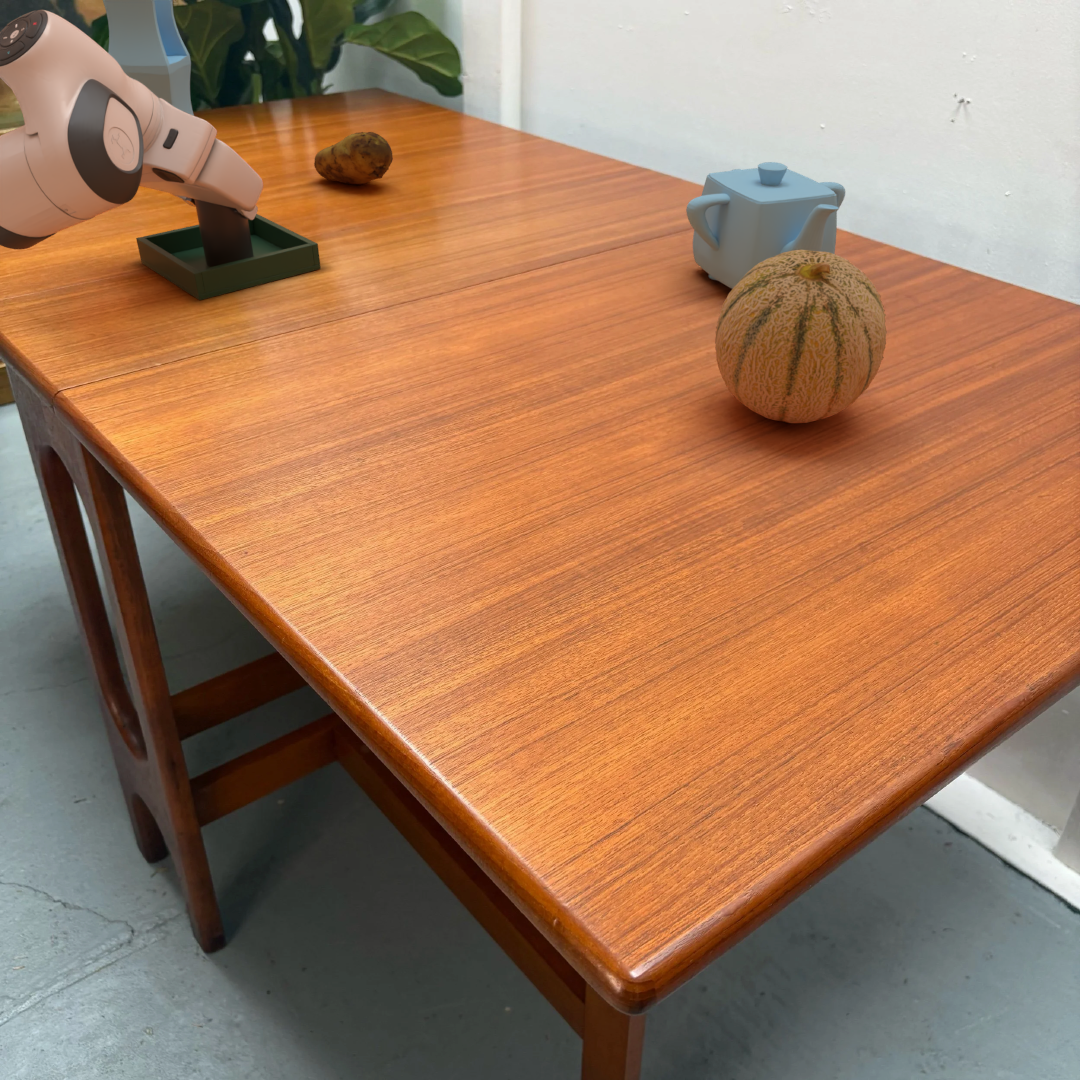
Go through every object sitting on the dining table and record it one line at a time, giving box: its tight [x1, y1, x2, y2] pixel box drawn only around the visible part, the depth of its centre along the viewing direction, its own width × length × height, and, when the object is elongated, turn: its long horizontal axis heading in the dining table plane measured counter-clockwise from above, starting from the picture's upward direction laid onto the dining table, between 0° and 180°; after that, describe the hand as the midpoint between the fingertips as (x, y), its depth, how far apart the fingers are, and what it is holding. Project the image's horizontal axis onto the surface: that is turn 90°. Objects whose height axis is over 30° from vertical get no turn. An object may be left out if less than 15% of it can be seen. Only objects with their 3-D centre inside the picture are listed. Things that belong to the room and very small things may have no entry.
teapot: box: [685, 161, 846, 290], centre depth 115 cm, size 18×16×14 cm
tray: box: [135, 213, 322, 301], centre depth 122 cm, size 16×16×3 cm
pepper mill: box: [194, 199, 254, 267], centre depth 119 cm, size 6×6×13 cm
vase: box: [102, 0, 195, 116], centre depth 165 cm, size 10×10×25 cm
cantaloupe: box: [714, 250, 888, 424], centre depth 89 cm, size 15×15×15 cm
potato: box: [313, 131, 394, 185], centre depth 148 cm, size 8×13×8 cm, turn 39°
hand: (225, 207), depth 119 cm, fingers open, 7 cm apart
